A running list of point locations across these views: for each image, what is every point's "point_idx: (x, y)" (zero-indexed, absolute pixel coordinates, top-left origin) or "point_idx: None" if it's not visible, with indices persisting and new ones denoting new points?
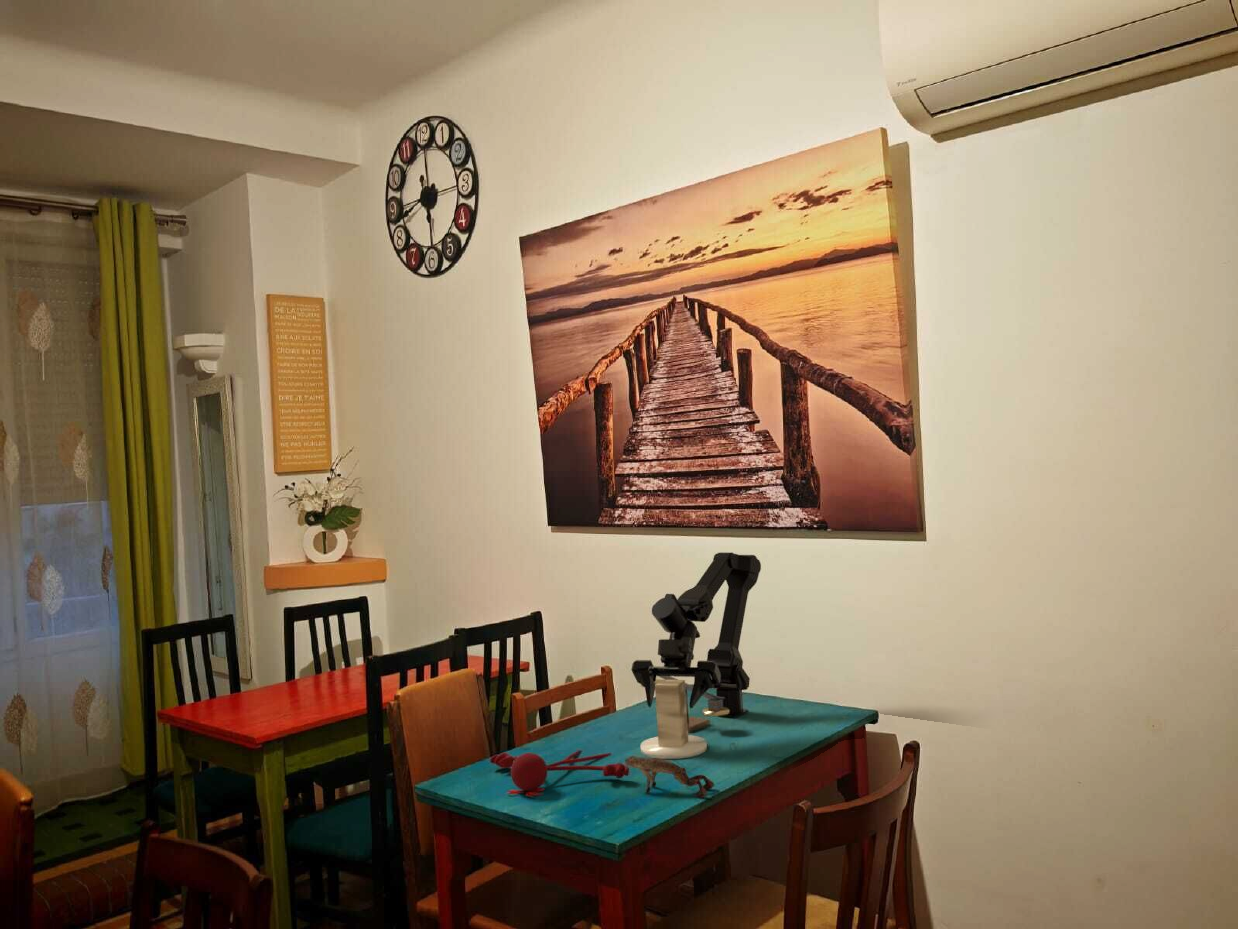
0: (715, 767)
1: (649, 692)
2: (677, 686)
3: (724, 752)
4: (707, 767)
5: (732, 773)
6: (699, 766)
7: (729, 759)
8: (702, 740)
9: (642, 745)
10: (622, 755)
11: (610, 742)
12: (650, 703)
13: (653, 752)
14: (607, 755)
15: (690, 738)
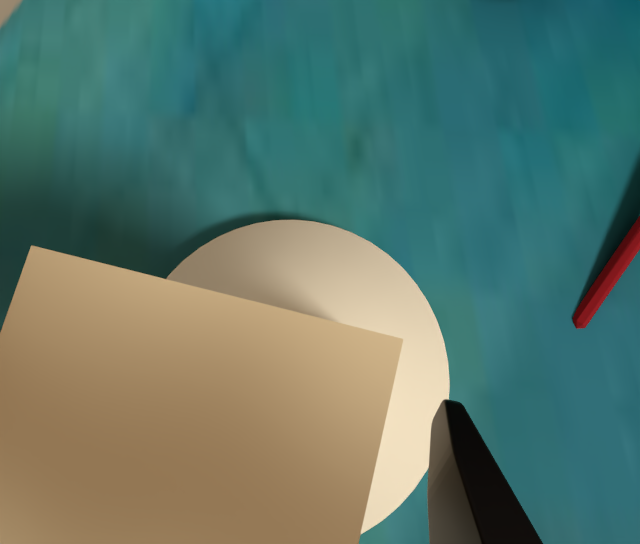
0: (113, 114)
1: (483, 515)
2: (42, 250)
3: None
4: (143, 116)
5: (56, 45)
6: (173, 129)
7: (54, 211)
8: None
9: (437, 355)
10: (515, 298)
11: (626, 533)
12: (438, 437)
13: (369, 242)
14: (586, 295)
15: None
